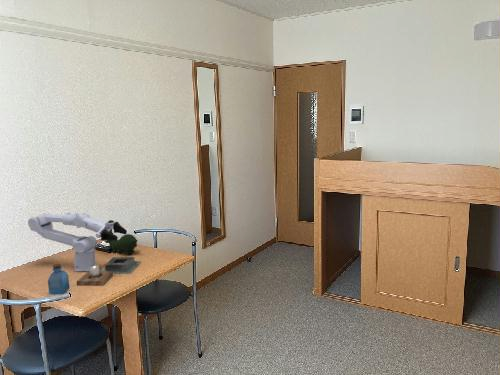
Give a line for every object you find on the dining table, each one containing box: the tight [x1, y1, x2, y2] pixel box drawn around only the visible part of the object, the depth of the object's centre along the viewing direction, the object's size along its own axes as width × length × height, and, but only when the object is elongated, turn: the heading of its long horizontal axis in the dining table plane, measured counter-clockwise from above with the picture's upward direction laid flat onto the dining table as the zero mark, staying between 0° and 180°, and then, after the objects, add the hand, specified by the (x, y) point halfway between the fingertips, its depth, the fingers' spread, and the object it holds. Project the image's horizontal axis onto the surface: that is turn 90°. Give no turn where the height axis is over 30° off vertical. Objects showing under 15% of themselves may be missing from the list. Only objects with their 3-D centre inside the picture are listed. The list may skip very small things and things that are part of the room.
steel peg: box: [90, 263, 100, 279], centre depth 192 cm, size 4×4×7 cm
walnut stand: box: [76, 270, 114, 286], centre depth 192 cm, size 12×12×2 cm
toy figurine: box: [104, 219, 138, 256], centre depth 230 cm, size 9×19×25 cm
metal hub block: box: [100, 256, 142, 275], centre depth 207 cm, size 16×16×4 cm
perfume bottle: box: [47, 263, 70, 295], centre depth 180 cm, size 6×6×12 cm
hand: (121, 235), depth 199 cm, fingers open, 7 cm apart
